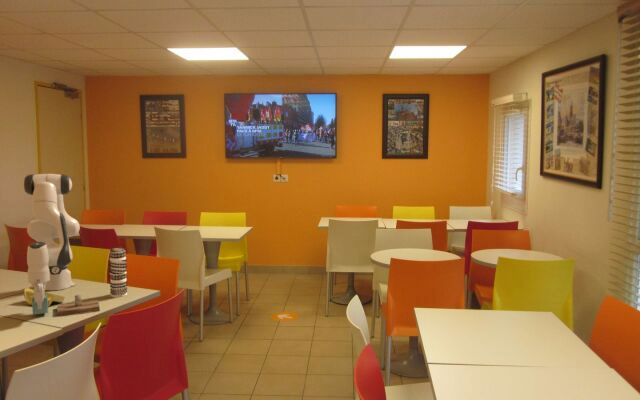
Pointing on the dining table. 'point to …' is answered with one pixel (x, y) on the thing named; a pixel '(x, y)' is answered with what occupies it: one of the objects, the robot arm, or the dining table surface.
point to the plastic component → (51, 297)
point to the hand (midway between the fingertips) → (40, 306)
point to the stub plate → (78, 307)
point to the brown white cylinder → (118, 272)
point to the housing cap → (44, 306)
